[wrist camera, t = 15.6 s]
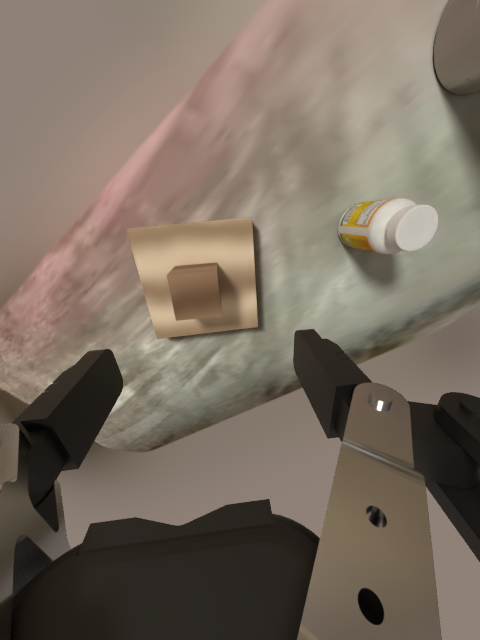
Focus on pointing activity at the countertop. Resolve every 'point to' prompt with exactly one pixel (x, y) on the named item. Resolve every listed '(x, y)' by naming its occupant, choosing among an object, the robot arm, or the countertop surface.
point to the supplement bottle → (388, 226)
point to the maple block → (198, 248)
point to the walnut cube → (195, 291)
